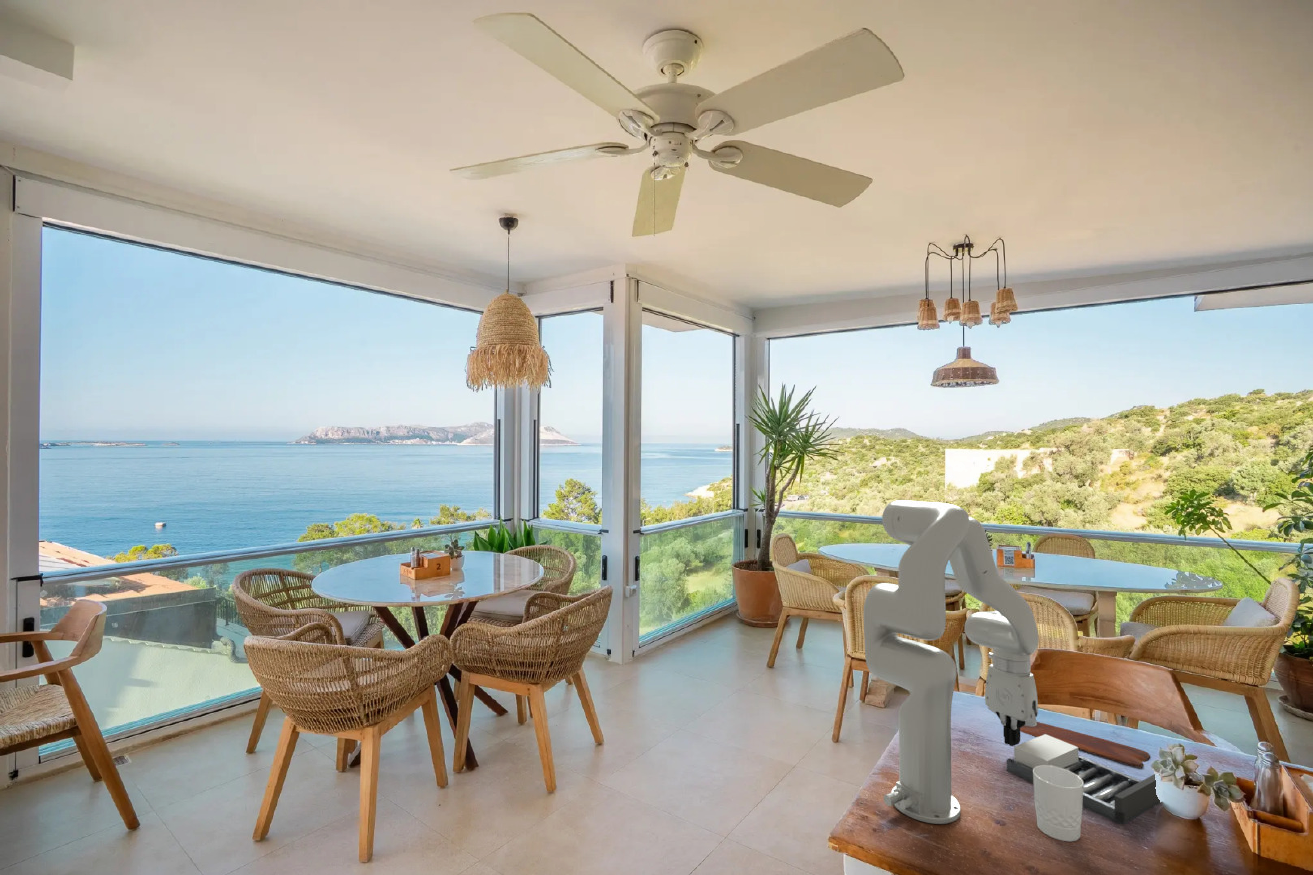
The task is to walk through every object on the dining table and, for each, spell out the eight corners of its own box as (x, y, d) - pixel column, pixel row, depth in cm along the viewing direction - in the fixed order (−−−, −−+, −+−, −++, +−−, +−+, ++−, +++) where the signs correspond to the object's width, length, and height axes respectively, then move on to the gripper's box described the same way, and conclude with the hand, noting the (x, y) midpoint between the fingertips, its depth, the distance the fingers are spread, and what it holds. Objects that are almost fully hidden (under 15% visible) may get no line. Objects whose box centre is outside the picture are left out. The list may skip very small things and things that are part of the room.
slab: (1047, 775, 128) (1047, 760, 128) (1014, 760, 134) (1014, 746, 134) (1078, 760, 134) (1078, 747, 134) (1045, 747, 140) (1045, 733, 140)
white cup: (1024, 816, 117) (1023, 764, 117) (1066, 817, 117) (1065, 765, 117) (1049, 843, 109) (1049, 787, 109) (1094, 844, 109) (1093, 788, 109)
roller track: (1122, 825, 114) (1121, 798, 114) (1006, 770, 134) (1006, 747, 134) (1162, 801, 122) (1162, 776, 122) (1048, 752, 141) (1047, 731, 141)
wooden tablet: (1151, 757, 141) (1151, 749, 141) (1142, 772, 134) (1142, 764, 134) (1022, 718, 160) (1022, 712, 160) (1009, 730, 153) (1009, 723, 153)
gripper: (971, 656, 146) (971, 733, 145) (1035, 677, 133) (1035, 762, 132) (990, 651, 149) (990, 726, 149) (1054, 671, 136) (1055, 753, 136)
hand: (1011, 743), depth 141 cm, fingers closed
